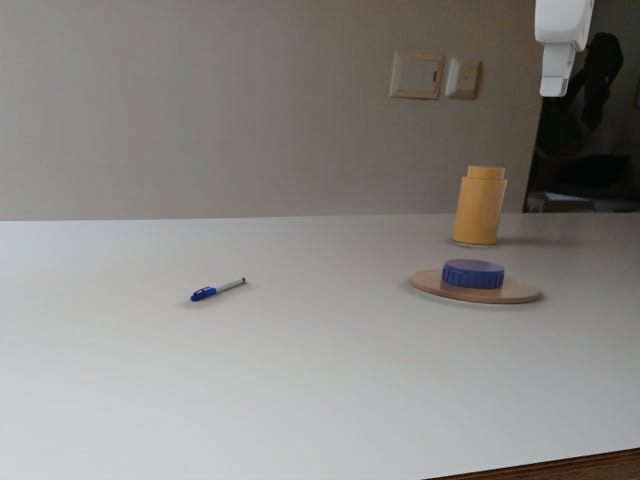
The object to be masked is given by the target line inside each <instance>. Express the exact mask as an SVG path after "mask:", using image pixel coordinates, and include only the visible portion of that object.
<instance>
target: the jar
mask: <svg viewBox="0 0 640 480" xmlns="http://www.w3.org/2000/svg"><path fill="white" fill-rule="evenodd" d="M505 174H506V167H503V166H497V165H486V164H469V165H468V166H467V172H466V175H463V176H461V180H460V181H461V182H460V187H459V193H458V199H457V206H456V210H455V211H456V212H455V217H454V224H453V230H452V236H451V240H453V241H455V242H458V243H461V244H462V243H463V244H471V245H483V246H486V245H487V246H489V245H494V244H496V242H497V237H498V232H499V227H500V223H501V222H500V221H501V215H502V210H503V206H504V201H505V195H506V189H507V185H508V179H507V178H504V177H505V176H504V175H505Z"/></svg>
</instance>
